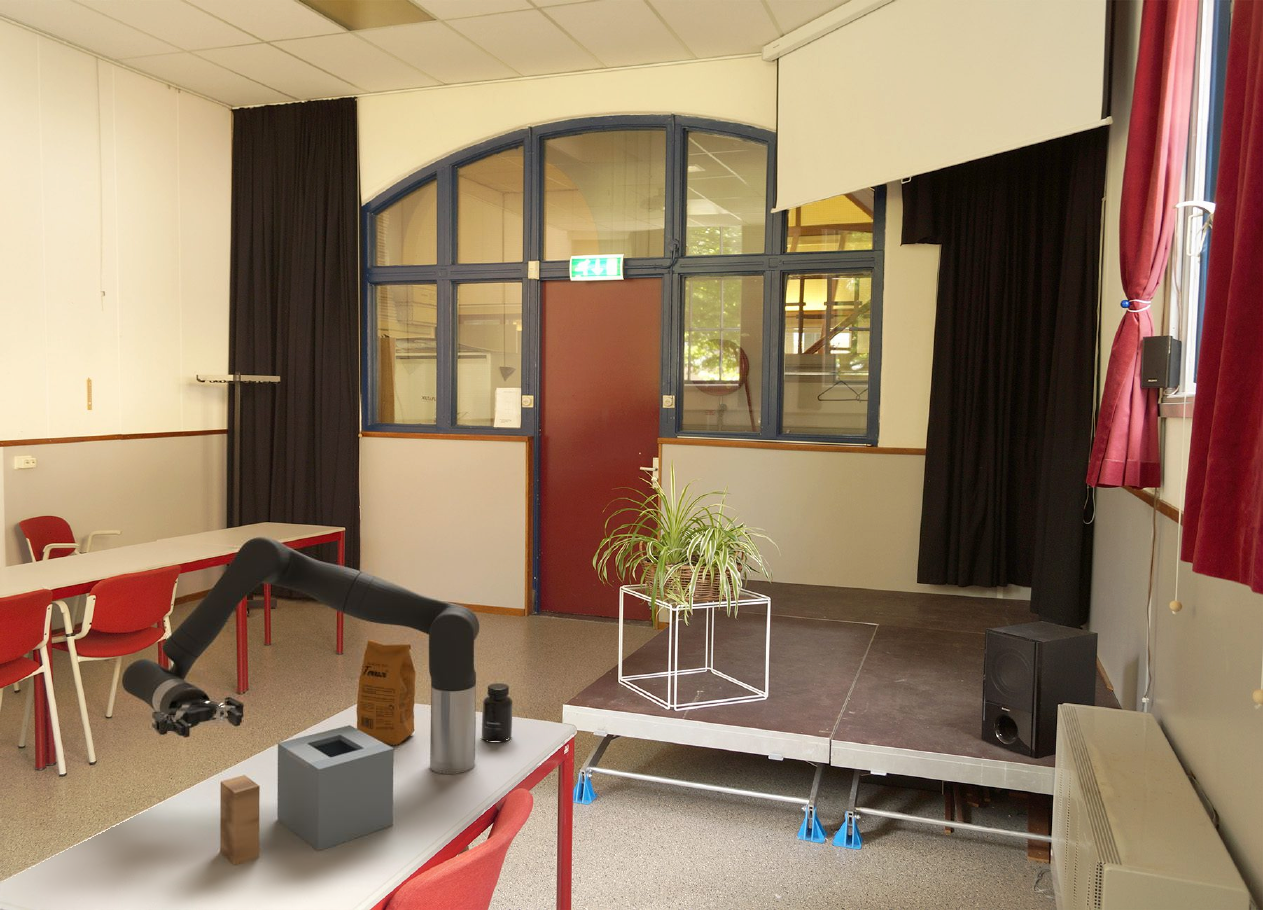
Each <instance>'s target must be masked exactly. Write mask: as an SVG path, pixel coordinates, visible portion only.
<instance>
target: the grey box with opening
mask: <svg viewBox="0 0 1263 910" xmlns="http://www.w3.org/2000/svg"><path fill="white" fill-rule="evenodd" d="M394 749H395V748H393V747H392V746H390V745H386V744H384V743H382V742H381V741H379V740H377V739H375V738H373V737H371V736H369V735H367V734H366V733H364V732H362V731H360V730H358V729H357V727H354V726H353V725H350V724H349V725H344V726H340V727H337V728H334V729H329V730H325V731H321V732H317V733H314V734H309V735H304V736H302V737H297V738H292V739H290V740H289V739H288V740H285V741H281V742H277V808H276V809H277V816H276V817H277V820H278V821H279V822H281V823H282V824H283V825H284V826H286V827H287V828H288V829H290V830H291V831H292V832H293V833H295V835H297V836H298V837H300V838H301V839H302V840H303V841H305V842H306V843H308V845H310V846H311V847H312V848H314V849H315V850H317V851H318V852H319V851H322V850H326V849H329V848H331V847H334V846H338V845H340V844H342V843H346V842H348V841H352V840H354V839H357V838H360V837H363V836H366V835H368V834H372V833H375V832H377V831H380V830H383V829H386V828H389V827H392V826H393V825H394V762H395V761H394V757H395V756H394V755H395V753H394Z"/></svg>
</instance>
